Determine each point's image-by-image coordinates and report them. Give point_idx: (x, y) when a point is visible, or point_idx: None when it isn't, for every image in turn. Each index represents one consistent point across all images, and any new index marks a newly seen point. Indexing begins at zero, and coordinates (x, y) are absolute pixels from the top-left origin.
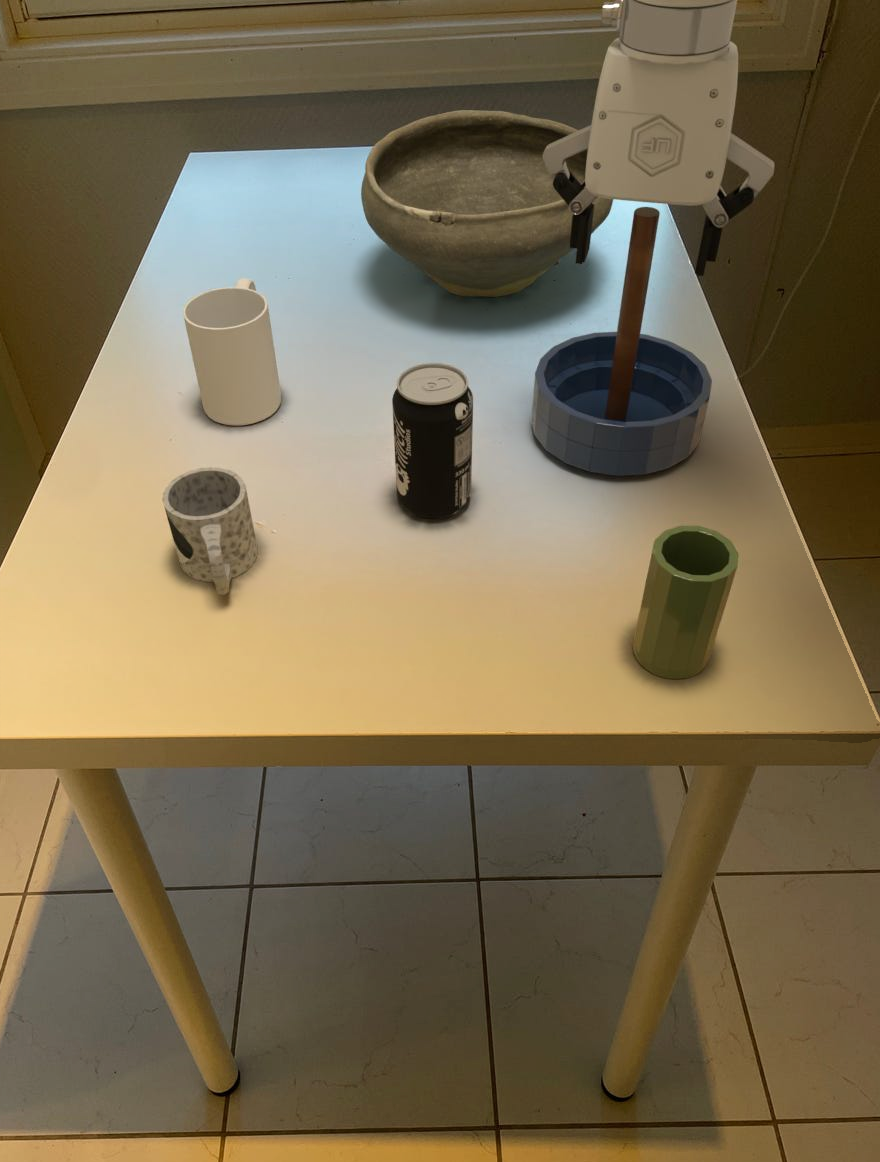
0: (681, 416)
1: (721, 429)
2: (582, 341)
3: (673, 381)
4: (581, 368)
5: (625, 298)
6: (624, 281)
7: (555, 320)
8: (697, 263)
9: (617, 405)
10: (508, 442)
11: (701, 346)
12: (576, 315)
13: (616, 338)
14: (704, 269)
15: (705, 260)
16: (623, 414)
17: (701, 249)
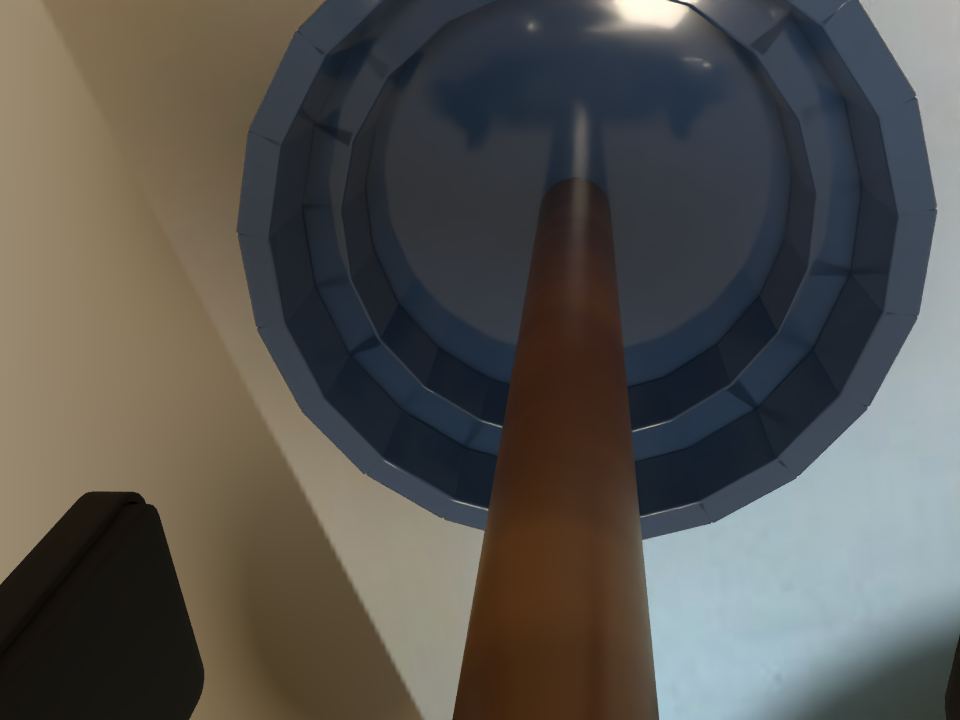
0: (293, 53)
1: None
2: (753, 468)
3: (416, 390)
4: (729, 397)
5: (609, 418)
6: (636, 498)
7: (823, 687)
8: (104, 547)
9: (570, 205)
10: (934, 36)
11: (411, 637)
12: (764, 714)
13: (620, 330)
14: (66, 516)
15: (27, 558)
16: (547, 204)
17: (33, 631)
